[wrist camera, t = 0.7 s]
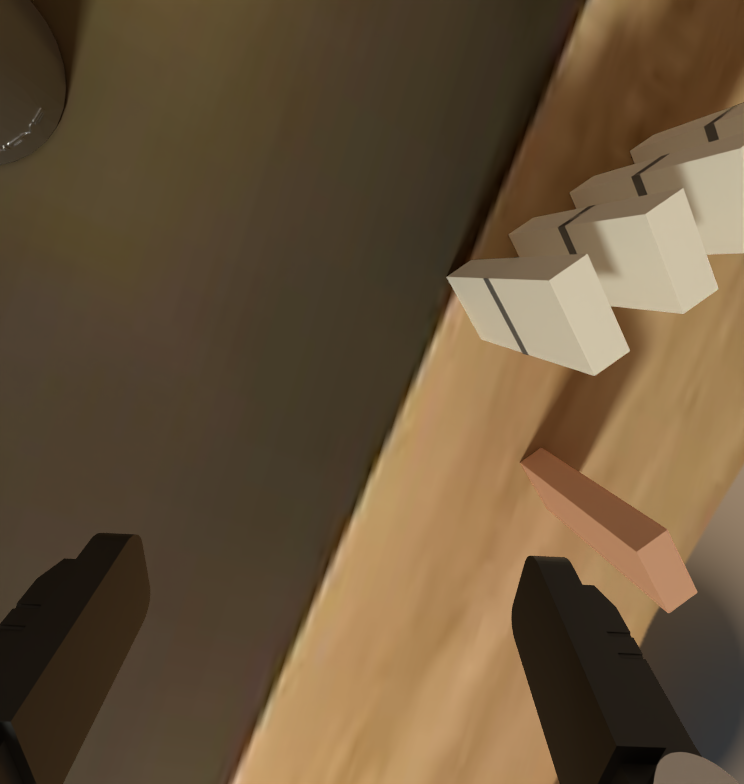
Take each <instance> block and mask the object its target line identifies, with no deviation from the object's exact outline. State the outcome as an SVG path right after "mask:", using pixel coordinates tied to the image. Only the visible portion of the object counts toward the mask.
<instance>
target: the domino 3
mask: <svg viewBox="0 0 744 784" xmlns="http://www.w3.org/2000/svg"><path fill="white" fill-rule="evenodd" d="M508 235H509V237H510V239H511V241H512V243H513V245H514V247H515V249H516V251H517V254H518V256H519V257H535V256H554V255H573V254H588V256H589V258H590V261H591V263H592V265H593V267H594V270H595V272H596V274H597V276H598V279H599V281H600V283H601V286H602V288H603V290H604V292H605V295H606V297H607V299H608V302H609V304H610V306H614V307H623V308H633V309H642V310H652V311H661V312H671V313H680V314H684V313H685V312H687V311H688V310H690V309H691V308H692V307H694V306H695V305H697V304H698V303H699V302H701V301H702V300H704V299H705V298H707V297H708V296H709V295H711V294H712V293H714V292H715V291H717V290H718V286H717V283H716V280H715V278H714V275H713V272H712V269H711V266H710V263H709V260H708V257H707V254H706V252H705V249H704V246H703V243H702V240H701V237H700V234H699V231H698V228H697V226H696V223H695V220H694V217H693V214H692V211H691V208H690V205H689V202H688V200H687V197H686V194H685V191H684V188H680V189H675V190H669V191H664V192H659V193H654V194H649V195H644V196H639V197H634V198H629V199H624V200H619V201H614V202H609V203H604V204H599V205H592V206H588V207H584V208H579V209H574V210H569V211H564V212H559V213H554V214H549V215H544V216H539V217H534V218H531V219H530V220H529V221H527V222H526V223H524V224H523V225H521V226H520V227H518V228H517V229H515V230H514V231H513V232H511V233H510V234H508Z"/></svg>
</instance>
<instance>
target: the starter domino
mask: <svg viewBox="0 0 744 784" xmlns="http://www.w3.org/2000/svg"><path fill="white" fill-rule="evenodd" d="M520 463H521V465H522V467H523V469H524V470H525V472H526V474H527V475H528V477H529V479H530V480H531V482H532V484H533V486H534V487H535V489H536V491H537V492H538V494H539V496H540V498H541V499H542V501H543V503H544V504H545V506H546V508H547V509H548V510H549V511H550V512H551V513H552V514H554V515H555V516H556V517H557V518H558V519H559V520H561V521H562V522H563V523H564V524H565V525H566V526H567V527H569V528H570V529H571V530H572V531H573V532H574V533H576V534H577V535H578V536H579V537H580V538H581V539H583V540H584V541H585V542H586V543H587V544H588V545H590V546H591V547H592V548H593V549H594V550H595V551H597V552H598V553H599V554H600V555H601V556H602V557H603V558H605V559H606V560H607V561H608V562H609V563H610V564H612V565H613V566H614V567H615V568H616V569H617V570H619V571H620V572H621V573H622V574H623V575H624V576H626V577H627V578H628V579H629V580H630V581H631V582H632V583H634V584H635V585H636V586H637V587H638V588H639V589H641V590H642V591H643V592H644V593H645V594H646V595H648V596H649V597H650V598H651V599H652V600H653V601H655V602H656V603H657V604H658V605H659V606H660V607H662V608H663V609H664V610H665V611H666V612H667V613H670V612H671V611H673V610H674V609H675V608H677V607H678V606H680V605H681V604H682V603H684V602H685V601H686V600H688V599H689V598H691V597H692V596H693V595H695V594H696V593H697V590H696V588H695V586H694V584H693V582H692V580H691V578H690V576H689V573H688V571H687V570H686V567H685V565H684V563H683V561H682V559H681V557H680V555H679V553H678V550H677V548H676V546H675V544H674V542H673V540H672V538H671V536H670V534H669V532H668V530H667V529H666V528H664V527H663V526H661V525H660V524H658V523H657V522H655V521H654V520H652V519H650V518H649V517H647V516H646V515H644V514H643V513H641V512H640V511H638V510H637V509H635V508H634V507H632V506H631V505H629V504H627V503H626V502H624V501H623V500H621V499H620V498H618V497H617V496H615V495H614V494H612V493H611V492H609V491H608V490H606V489H604V488H603V487H601V486H600V485H598V484H597V483H595V482H594V481H592V480H591V479H589V478H588V477H586V476H585V475H583V474H581V473H580V472H578V471H577V470H575V469H574V468H572V467H571V466H569V465H568V464H566V463H565V462H563V461H562V460H560V459H558V458H557V457H555V456H554V455H552V454H551V453H549V452H548V451H546V450H545V449H543V448H542V447H541V448H540V449H538V450H537V451H535V452H534V453H532V454H531V455H530V456H528V457H527V458H525V459H524V460H523V461H521V462H520Z"/></svg>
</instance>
